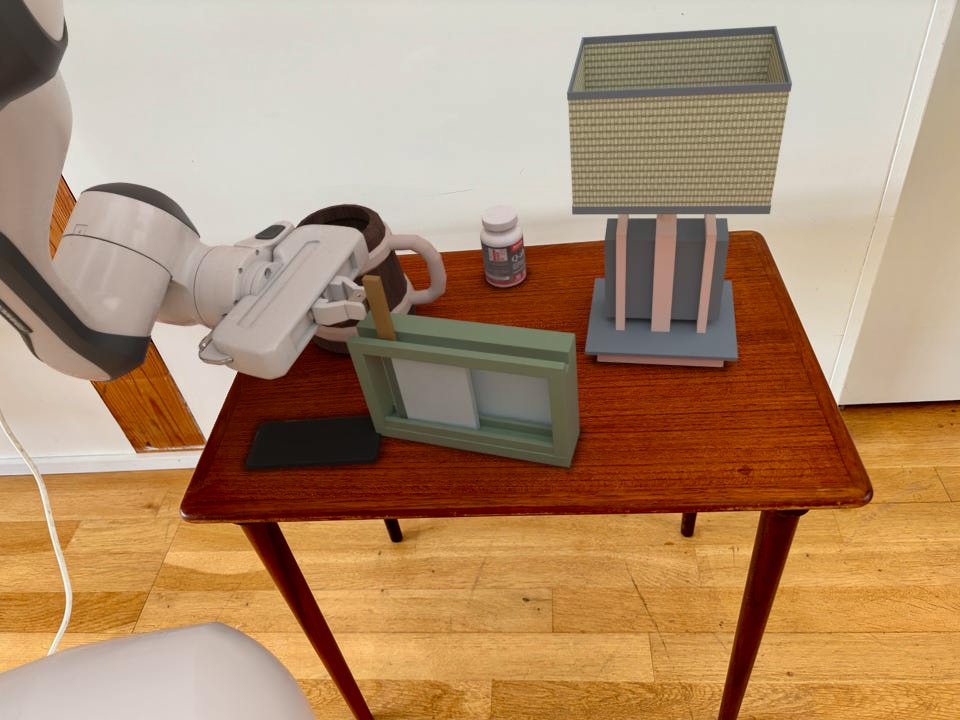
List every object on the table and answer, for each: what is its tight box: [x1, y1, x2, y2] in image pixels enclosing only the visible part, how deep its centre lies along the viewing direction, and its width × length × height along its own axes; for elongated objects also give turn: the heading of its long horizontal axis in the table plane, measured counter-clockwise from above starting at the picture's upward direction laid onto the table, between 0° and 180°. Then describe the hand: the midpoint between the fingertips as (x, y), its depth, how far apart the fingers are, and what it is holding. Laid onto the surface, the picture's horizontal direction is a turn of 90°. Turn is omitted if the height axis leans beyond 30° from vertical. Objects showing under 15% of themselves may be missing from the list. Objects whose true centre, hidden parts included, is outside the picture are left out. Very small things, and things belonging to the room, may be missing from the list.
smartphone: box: [245, 415, 383, 471], centre depth 80 cm, size 7×1×15 cm
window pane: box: [362, 275, 480, 431], centre depth 71 cm, size 1×9×19 cm, turn 72°
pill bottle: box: [479, 204, 527, 288], centre depth 95 cm, size 6×6×10 cm
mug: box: [294, 203, 448, 355], centre depth 90 cm, size 20×15×15 cm
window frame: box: [346, 311, 581, 469], centre depth 73 cm, size 5×22×14 cm, turn 72°
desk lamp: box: [566, 25, 793, 368], centre depth 76 cm, size 18×14×33 cm
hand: (369, 304), depth 68 cm, fingers closed, pressing on window pane
